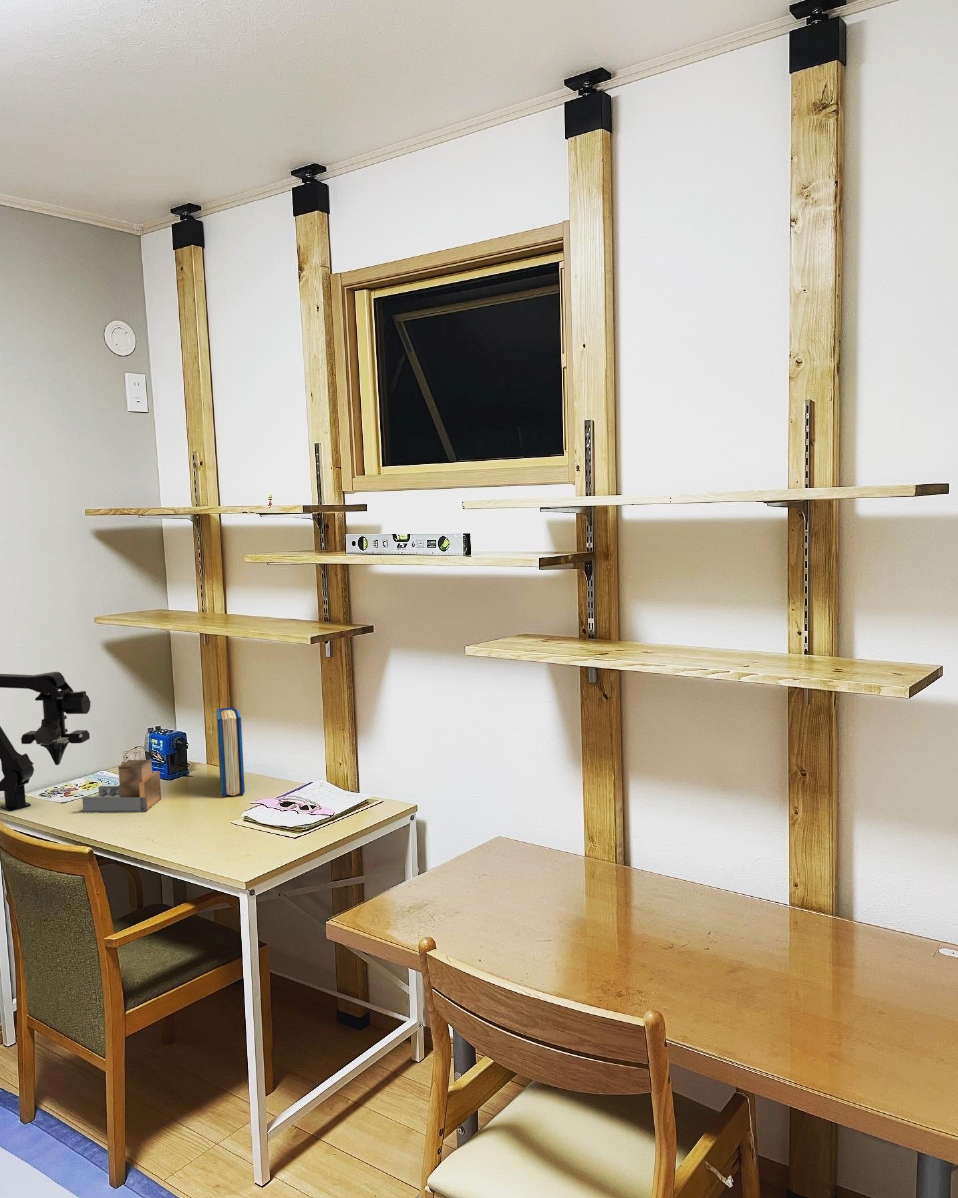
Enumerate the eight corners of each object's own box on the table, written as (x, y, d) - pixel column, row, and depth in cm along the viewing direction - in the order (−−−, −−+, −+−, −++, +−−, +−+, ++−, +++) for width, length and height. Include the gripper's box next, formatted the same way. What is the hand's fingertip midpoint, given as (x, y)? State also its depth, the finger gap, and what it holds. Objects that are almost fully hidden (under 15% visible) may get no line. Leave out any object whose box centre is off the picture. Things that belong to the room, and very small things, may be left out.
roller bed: (83, 812, 285) (81, 783, 284) (101, 800, 296) (99, 771, 296) (145, 812, 284) (144, 782, 283) (161, 799, 295) (159, 771, 295)
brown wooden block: (120, 799, 286) (118, 766, 285) (130, 791, 294) (128, 760, 293) (143, 799, 286) (141, 766, 285) (153, 791, 293) (151, 759, 292)
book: (219, 779, 316) (215, 705, 313) (241, 777, 318) (237, 703, 315) (221, 798, 295) (217, 719, 293) (245, 796, 297) (241, 717, 295)
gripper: (9, 720, 281) (13, 772, 282) (71, 720, 280) (75, 772, 281) (29, 712, 292) (32, 762, 293) (88, 711, 291) (92, 761, 292)
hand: (57, 764), depth 290 cm, fingers closed
